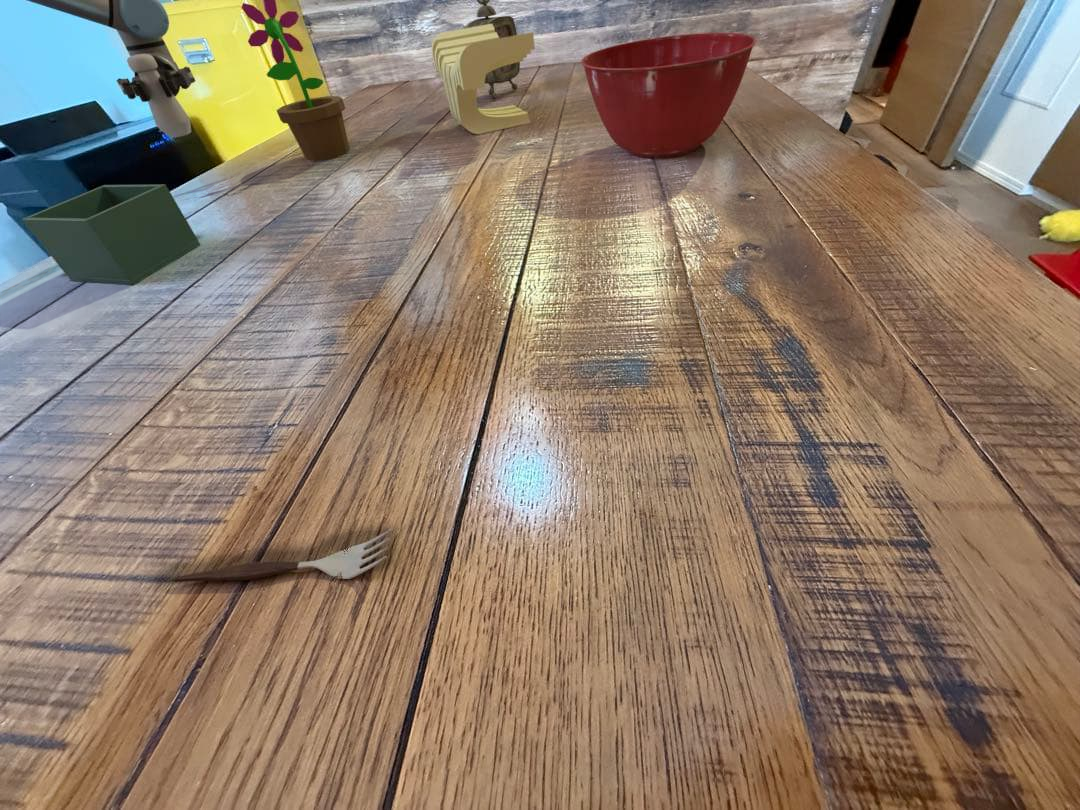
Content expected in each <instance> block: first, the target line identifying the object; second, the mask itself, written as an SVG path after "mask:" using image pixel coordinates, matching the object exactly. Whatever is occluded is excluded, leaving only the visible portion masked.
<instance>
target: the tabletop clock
mask: <svg viewBox="0 0 1080 810" xmlns="http://www.w3.org/2000/svg"><path fill="white" fill-rule="evenodd" d="M476 2H477V3H478V4H480V5H481V6H480V7H479V8H478V10H477V12H476V19H474V20H472V21H470V22H468V23H467V24H466V25H465V26H464V27H463V29H465V28H471V27H476V26H482V25H487V24H492V25H493V27H494V29H495V32H497V34H498V36H499V38H504V37H510V36H515V35H518V33H517V28H516V23H515V20H514V17H512V16H510V15H502V16H496V15H497V12H496V10H495V8H494V7H493V6H492V5H488V3H489V2H491V0H476ZM520 65H521V62H517V63H513V64H509V65H506V66H503V67H500V68H497V69H495V70H493V71H491V72H489V73H487V74H486V77H485V84H488V85H489V89H488V91H487V92H488V95H489V96H490V98H491V99H492V100H494V101H495V100H497V98H498V94H497V93H496V92H495V87H494V85H495V84H503V83H506V82H508V83H509V84H510V85H511V89H512V90H513V91H517V89H518V85H517V84H516V83H514V82H513V79H514V78H516V77H517V76H518V75H519V73H520V69H521V66H520Z"/></svg>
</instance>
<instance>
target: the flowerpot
mask: <svg viewBox="0 0 1080 810" xmlns="http://www.w3.org/2000/svg"><path fill="white" fill-rule="evenodd" d="M262 3H263V8H264V11H265V13H266V15H267V16H268V18H266V16H265V15H264V14H263V11H261V10H260V9H258V8H257V7H256V6H254V5H253V4H250V3H249V4H248V3H245V2H242V5H241V9H242V10H243V12H244V13H245V15H246V16H247V18H249V19H250V20H251V21H253V22H254V23H255V24H257V25H263V26H264V29H257V30H255V31H253V32H252V33H250V35H249V37H248V40H247V43H248V44H249V46H250V47H262V46H263V45H265V44H266V43H268V40H269V38H271V39H272V40H271V43H270V50H271V56H272V58H273V60H274V61H275V63H276V64H273V65H272V66H271V67H270V69H269V70H268V71H267V73H266V76H267V77H268V78H270V79H272V80H273V79H274V80H277V81H289V80H291V79H292V78H293V77H294V76H296V78H297V80H298V83H299V85H300V88H301V91H302V94H303V96H304V99H302V100H298V101H294V102H291V103H288V104H285V105H282V106H281V107H278V108H277V109H276V114H277V115H278V118H279V121H280V122H281V123H282V124H287V126H288V128H289V130H290V131H291V133H292V135H293V137H294V139H295V141H296V143H297V145H298V147H299V149H300V150H301V152H302V154H303V156H304V158H305V159H306V160H307V161H312V162H317V161H325V160H330V159H334V158H338V157H341V156H343V155H344V154H347V153H348V152H349V150H350V144H349V139H348V135H347V131H346V126H345V121H344V117H343V112H344V111H345V110H346V109H347V108H346V105H345V102H344V99H343V97H341V96H339V95H326V96H320V97H319V96H318V97H312V98H311V97H310V95H309V92H308V90H312V91H313V90H316V89H319V88H321V86H323V84H324V80H323V79H321V78H318V77H307V78H305V79H304V78H303V75H302V73H301V71H300V69H299V66H298V64H297V60H296V59H295V57H294V55H293V52H292V50H293V51H295V52H300V53H303V50H304V46H303V45H302V44H301V42H300V40H299V39H298V38H296V37H295V36H294V35H293V34H292V33H289V32H288V33H286V32H284V29H283V28H285V29H290V28H291V27H293V26H294V25H296V24H297V22H298V19H299V17H300V16H299V14H298V11H292V10H288V11H286V12H284V13H283V14H281V15H280V17H279V20H278V19H277V18H276V16H277V13H278V9H277V8H278V7H277V2H276V0H262ZM284 50H285V51H284ZM285 52H286V54H287V56H288V59H289V61H290V62H288V61H284V59H285Z"/></svg>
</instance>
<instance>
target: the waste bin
mask: <svg viewBox="0 0 1080 810" xmlns="http://www.w3.org/2000/svg"><path fill="white" fill-rule="evenodd" d="M21 220H22V222H23V223H24V224H25V225H26V227H27V228H28V229H29V230H30V232H31V233H32V235H33V236H34V237H35V238H36V239H37V240H38V242H39V243H40V244H41V245H42V247H43V248H44V249H45V250H46V252H47V253H48V254H49V256H50V257H51V258H52V259H53V261H54V262H55V263H56V264H57V265H58V266H59V268H60V269H61V270H62V272H63V273H64V274H65V275H66V276H67V278H68V279H69V280H70V281H71V282H81V283H97V284H98V283H99V284H112V285H124V286H135V285H136V284H137V283H139V282H140V281H142V280H144V279H146V278H147V277H149V276H151V275H153V274H155V273H156V272H157V271H159V270H161V269H162V268H164V267H166V266H167V265H169V264H171V263H173V262H174V261H176V260H177V259H179V258H181V257H183V256H184V255H186V254H188V253H190V252H191V251H193V250H194V249H196V248H198V247H200V246H201V243H200V240H199V239H198V237H197V236H196V234H195V232H194V231H193V229H192V227H191V226H190V224H189V222H188V220H187V219H186V217H185V215H184V214H183V212H182V210H181V208H180V207H179V205H178V204H177V201H176V200H175V199H174V196H173V195H172V193H171V191H170V189H169V188H168V187H167V185H166V184H165V183H163V184H162V183H161V184H103V185H101V186H98V187H96V188H94V189H93V188H92V189H91V190H88V191H86V192H84V193H82V194H79V195H77V196H75V197H71V198H69V199H67V200H64V201H62V202H60V203H58V204H55V205H53V206H49V207H47V208H45V209H43V210H41V211H38V212H36V213H33V214H30V215H28V216H26V217H23V218H22V219H21Z"/></svg>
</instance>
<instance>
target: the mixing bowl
mask: <svg viewBox="0 0 1080 810" xmlns="http://www.w3.org/2000/svg"><path fill="white" fill-rule="evenodd" d="M756 43H757V39H756V38H755V36H752V35H750V34H745V33H739V32H703V33H702V32H700V33H687V34H677V35H669V36H668V35H667V36H661V37H654V38H647V39H646V38H645V39H641V40H635V41H630V42H625V43H621V44H617V45H616V44H615V45H612V46H609V47H605V48H601V49H598V50H596V51H593V52H590V53H589V54H587V55H585V56H584V57H583V58H582V59H581V62H580V63H581V65H582V67H583V68H584V73H585V76H586V81H587V84H588V87H589V90H590V93H591V94H590V95H591V97H592V99H593V102H594V106H595V108H596V110H597V113H598V115H599V118H600V120H601V121H602V123H603V126H604V128H605V130H606V132H607V134H608V135H609V137H610V138H611V140H612V141H613V142H614V143H615V144H616V146H618V147H619V148H620V149H622V150H624V151H626V152H627V153H628V154H629V155H632V156H635V157H639V158H649V159H659V158H671V157H672V158H673V157H676V156H681V155H685V154H689V153H691V152H693V151H695V150H696V149H698V148H699V147H700V145H703V144H704V143H706V141H708V140H709V139H710V138H711V137H712V136H713V135H714V134H715V132H717V130H718V129H719V127H720V125H721V124H722V122H723V120H724V118H725V117H726V115H727V113H728V111H729V110H730V107H731V106H732V103H733V101H734V99H735V97H736V94H737V93H738V90H739V87H740V85H741V83H742V80H743V78H744V75H745V72H746V69H747V66H748V63H749V60H750V56H751V53H752V50H753V47H754V46H755V45H756Z"/></svg>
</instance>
